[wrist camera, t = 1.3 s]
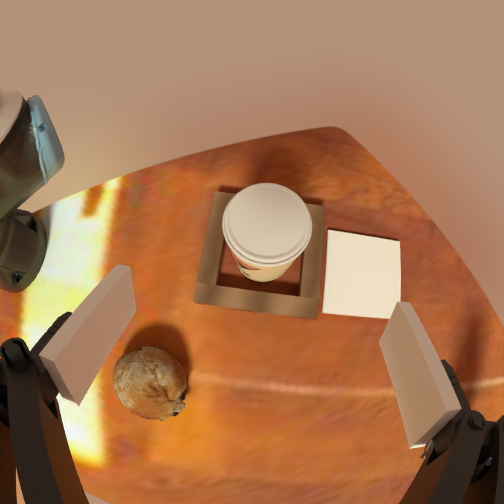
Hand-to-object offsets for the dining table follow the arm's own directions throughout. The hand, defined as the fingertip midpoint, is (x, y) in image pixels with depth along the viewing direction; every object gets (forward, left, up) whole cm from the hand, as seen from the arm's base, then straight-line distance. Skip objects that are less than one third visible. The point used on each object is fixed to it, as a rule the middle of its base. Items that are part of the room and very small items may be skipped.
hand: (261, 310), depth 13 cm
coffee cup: (0, +11, -25) cm, 27 cm away
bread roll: (-12, -9, -25) cm, 30 cm away
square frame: (0, +11, -25) cm, 27 cm away
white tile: (+15, +10, -25) cm, 31 cm away
